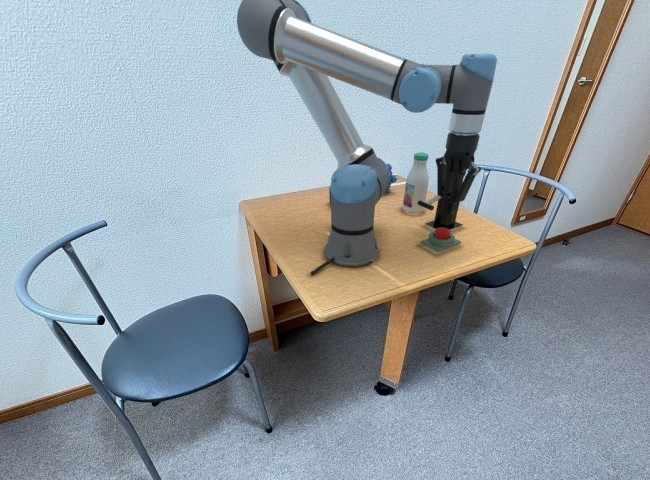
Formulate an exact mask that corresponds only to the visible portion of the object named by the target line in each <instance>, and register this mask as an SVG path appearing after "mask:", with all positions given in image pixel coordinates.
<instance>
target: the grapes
mask: <svg viewBox="0 0 650 480" xmlns="http://www.w3.org/2000/svg"><path fill="white" fill-rule="evenodd" d="M386 165H387V167H388V169H389V172H390V181H389V185H388V188H387V190H386V192H385V194H388V193H389V191H390V188H391V187H392V186H391V185H392V184H395V183H396V182H397V181H398V177H397V176H396V175H395V174H393V171H392V169H393V165H391V163H386Z"/></svg>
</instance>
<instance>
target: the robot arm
mask: <svg viewBox="0 0 650 480" xmlns="http://www.w3.org/2000/svg"><path fill="white" fill-rule="evenodd" d="M236 25H237V31H238V35H239V37H240V39H241V41H242V43H243V44H244V46H245V47H246V48H247V50H248V51H249V52H251V53H252V54H253V55H255V56H256V57H259V58H264V59H267V60H271V61H272V62H273V64H274V65H275V67H276V69H277V71H278V72H279V74H280V75H281V76H282V77H283V76H284V77H287V78H289V79H290V81H291V83H292V84H293V86H294V88H295V90H296V92H297V93H298V95H299V97H300V98H301V100H302V102H303V104H304V106H305V107H306V109H307V111H308V112H309V114H310V116H311V118H312V119H313V121H314V122H315V125H316V127H317V128H318V130H319V131H320V133H321V135H322V137H323V138H324V140H325V142H326V144H327V145H328V147H329V149H330V151H331V152H332V154H333V156H334V157H335V159H336V161H337V165H336V170H334V171H333V173H332V175H331V178H330V183H329V186H330V191H331V205H330V222H331V223H330V224H331V226H330V228H331V229H330V232H329V235H328V238H327V242H326V244H325V251H324V253H325V258H326V259H327V261H324V262H323V263H322V264H320V265H319V266H317V267H316V268H315V269H313V270H310V275H311V276H313V275H315V274H316V273H318V272H320V271H321V270H322V269H324V268H326V267H327V266H328V265H331V264H332V263H333V264H334V265H337V266H341V267H345V268H346V267H347V268H358V267H363V266H364V267H365V266H368V265H370V264H372V263H373V261H372V260H374V259H375V258H377V256H378V253H379V247H378V243H377V239H376V236H375V235H376V234H375V231H374V223H375V211H376V205H377V204H378V203H379V202H380V200H381V198H382V197H383V196H384V195H385V194H386V193H385V192H386V190H387V188H388V185H389V181H390V172H389V169H388V167H387V165H386V164H387V163H386V162H385V161H384V160H383V159H382V158H381V157H378V156H377V154H376V152H375V150H374V148H373V147H372V146H370V145H366V144H365V143H364V141H363V139H362V138H361V136H360V134H359V132H358V130H357V129H356V126H355V125H354V123H353V121H352V119H351V117H350V115H349V114H348V111H347V110H346V107H345V106H344V104H343V102H342V100H341V99H340V97H339V94H338V93H337V90H336V89H335V87H334V86H333V83H332V82H331V80H330V78H333V79H335V80H338V81H341V82H343V83H346V84H348V85H351V86H354V87H356V88H358V89H361V90H363V91H366V92H369V93H372V94H375V95H376V96H379V97H382V98H385V99H388V100H390V101H392V102H394V103H396V104H398V105H401V106H402V107H403V108H404V109H405V110H406V111H408V112H410V113H414V114H415V113H416V114H419V113H423V112H426V111H428V110H429V109H431V108H432V107H433V106H434V105H435V104H443V105H444V104H446V105H450V104H451V105H452V110H451V115H450V120H449V126H448V131H449V132H448V133H447V137H446V141H445V149H446V150H445V152H444V153H443V156H441V157H437V158H435V163H436V164H435V165H436V167H437V168H436V170H437V171H436V172H437V175H436V177H437V178H436V179H437V181H436V183H437V184H436V185H437V186H436V187H437V188H436V190H437V191H436V193H437V194H436V196H437V195H438V196H441V197H442V205H441V211H442V215H441V220H440V223H441V224H443V225H445V224H448V223H450V222H451V217H452V214H453V213H454V212H455V209H456V204H457V203H458V202H460V203H461V202H464V201H465V199H466V198H467V195H468V194H469V191H470V189H471V187H472V185H473V183H474V181H475V178H476V176H477V175H478V174H479V173H480V172H481V171H482V167H481V166H477V165H476V163H475V160H476V159H475V153H476V151H477V150H478V145H479V141H480V134H479V133H480V132H482V129H483V123H484V120H485V116H486V111H487V107H488V103H489V99H490V95H491V92H492V87H493V84H494V78H495V72H496V68H497V64H498V58H497V56H496V55H495V54H494V53H465V54H463V55H462V57H461V59H460V62H459V64H424V63H418V62H416V61H413V60H411V59H407V58H405V57H402V56H399V55H397V54H394V53H392V52H388V51H386V50H383V49H380V48H378V47H375V46H372V45H370V44H368V43H365V42H362V41H359V40H357V39H354V38H351V37H349V36H346V35H344V34H341V33H339V32H336V31H333V30H330V29H328V28H325V27H322V26H320V25H317V24H314V23H313V22H312V19H311V16H310V14H309V12H308V11H307V9H306V8H305V7H304V5H302V4H301V3H300V2H299V1H297V0H241V2H240V3H239V6H238V10H237V15H236ZM329 77H330V78H329Z"/></svg>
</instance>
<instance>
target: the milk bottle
mask: <svg viewBox="0 0 650 480" xmlns="http://www.w3.org/2000/svg"><path fill="white" fill-rule="evenodd" d="M428 159H429V154H428V153H426V152H415V153H414V155H413V164H412V166H411V168H410V170H409V172H408V175H407V176H406V180H405V187H404V195H403V201H402V210H403V211H404V212H407V213H412V214H419V213H422V212H424V211H425V208H424V207H422V206H419V205H418V204H417V203H418V201H419V200H420V201H423V202H425V203H426V202H427V196H428V189H429V181H430V180H429V179H430V176H429V172H428V168H427V163H428Z"/></svg>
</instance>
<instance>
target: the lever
mask: <svg viewBox="0 0 650 480" xmlns="http://www.w3.org/2000/svg"><path fill="white" fill-rule="evenodd" d="M441 198H442V197H441V196H438V195H437V194H436V196H434V197H432V198H430V199H429V200H427V201H425V202H423V201H420V200H419V201H418V203H417V204H418V205H419V206H422V207H424V209H426V210H428V211H431V212H432V211H434V209H435V206H434V205H433V204H434V203H436V202H438V200H439V199H441Z"/></svg>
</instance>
